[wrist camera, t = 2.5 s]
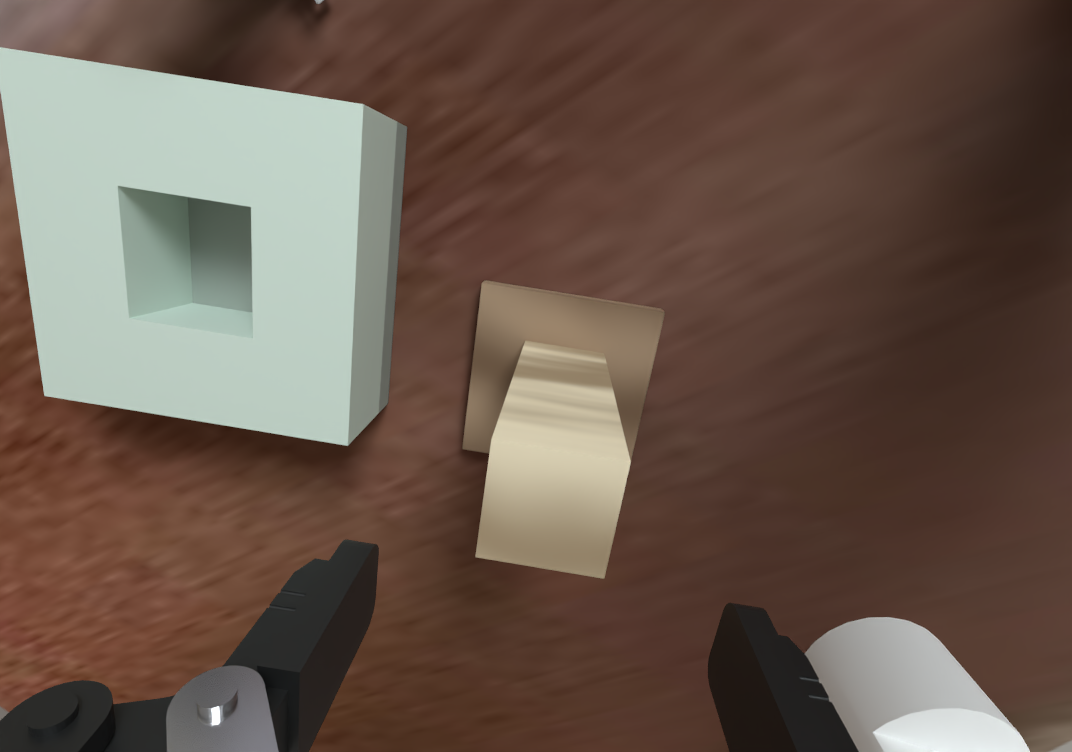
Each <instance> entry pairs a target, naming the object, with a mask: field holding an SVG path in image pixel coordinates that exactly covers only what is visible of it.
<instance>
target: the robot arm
mask: <svg viewBox="0 0 1072 752" xmlns="http://www.w3.org/2000/svg"><path fill="white" fill-rule="evenodd" d="M378 555H379V548H378V545H377V544H370V543H364V542H358V541H352V540H344V541H343V542H342V543H341V544H340V546H339V547H338V548H337V550H336V551H335V553H334V554H333V556H332V557H331V559H330V560H329V561H327V560H320V559H314V560H312V561H311V562H309V563H308V564H306V565H305V566H303V567H302V568H300V569H299V570H297V571H296V572H294V574H293V575H292V576H291V578H290V579H289V580H288V581H287V583H286V584H285V585H284V587H283V588H282V589H281V592H280V593H278V595H277V596H276V597H275V599H274V600H273V601H272V602H271V604H270V607H269V608H267V609H266V610H265V612H264V613H263V614H262V616H261V617H260V618H259V619H258V621H257V622H256V623H255V625H254V626H253V627H252V629H251V630H250V631H249V633H248V634H247V635H246V637H245V638H244V639H243V640H242V642H241V643H240V644H239V646H238V647H237V648H236V650H235V651H234V652H233V654H232V655H231V656H230V657H229V659H228V660H227V661H226V663H225V664H224V665H223V666H222V667H219V668H215V669H212V670H209V671H207V672H205V673H203V674H200V675H198V676H197V677H195V678H194V679H192V680H191V681H189V682H188V683H187V684H185V685H184V686H183V687H182V688H181V689H180V690H179V691H178V692H177V694H176V695H174V696H171V697H166V698H160V699H153V700H145V701H137V702H129V703H121V704H113V698H112V694H111V692H110V690H109V689H108V688H107V687H106V686H105V685H103V684H101V683H99V682H95V681H83V680H82V681H73V682H68V683H63V684H60V685H57V686H53V687H51V688H48V689H46V690H43V691H41V692H39V693H37V694H35V695H33V696H32V697H30V698H28V699H27V700H25V701H23V702H22V703H21V704H19V705H18V706H16V707H15V708H14V709H13V710H12V711H10V712H9V713H8V714H7V715H6V716H5V717H4V718H3V719H2V720H1V721H0V752H309V750H310V748H311V746H312V744H313V742H314V740H315V737H316V735H317V733H318V731H319V729H320V727H321V725H322V723H323V721H324V719H325V717H326V715H327V712H328V710H329V708H330V706H331V704H332V702H333V700H334V698H335V696H336V694H337V692H338V690H339V688H340V685H341V683H342V681H343V679H344V677H345V675H346V673H347V671H348V669H349V667H350V665H351V663H352V660H353V658H354V656H355V654H356V652H357V650H358V648H359V646H360V644H361V642H362V640H363V638H364V636H365V633H366V631H367V629H368V627H369V624H370V621H371V618H372V614H373V610H374V605H375V598H376V584H377V569H378ZM708 679H709V685H710V689H711V692H712V696H713V699H714V702H715V705H716V709H717V712H718V715H719V719H720V722H721V725H722V728H723V732H724V735H725V738H726V741H727V745H728V748H729V751H730V752H859V751H858V749H857V747H856V746H855V744H854V742H853V740H852V738H851V736H850V735H849V733H848V731H847V729H846V727H845V725H844V724H843V722H842V720H841V718H840V716H839V714H838V713H837V711H836V709H835V707H834V705H833V703H832V702H829V696H828V694H827V693H826V691H825V689H824V687H823V685H822V683H819V678H818V676H817V674H816V672H815V671H814V669H813V667H812V665H811V663H810V661H809V660H808V658H807V656H806V655H805V654H804V653H803V652H802V651H801V650H800V649H799V648H798V647H797V646H796V645H795V644H794V643H793V642H792V641H791V640H790V639H789V638H788V637H787V636H781V635H778V634H777V632H776V630H775V628H774V626H773V624H772V622H771V620H770V618H769V616H768V614H767V612H766V611H765V610H764V609H763V608H759V607H752V606H746V605H740V604H734V603H728V604H727V605H726V606H725V608H724V610H723V613H722V617H721V620H720V623H719V626H718V629H717V633H716V636H715V639H714V642H713V646H712V649H711V652H710V656H709V661H708Z"/></svg>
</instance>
